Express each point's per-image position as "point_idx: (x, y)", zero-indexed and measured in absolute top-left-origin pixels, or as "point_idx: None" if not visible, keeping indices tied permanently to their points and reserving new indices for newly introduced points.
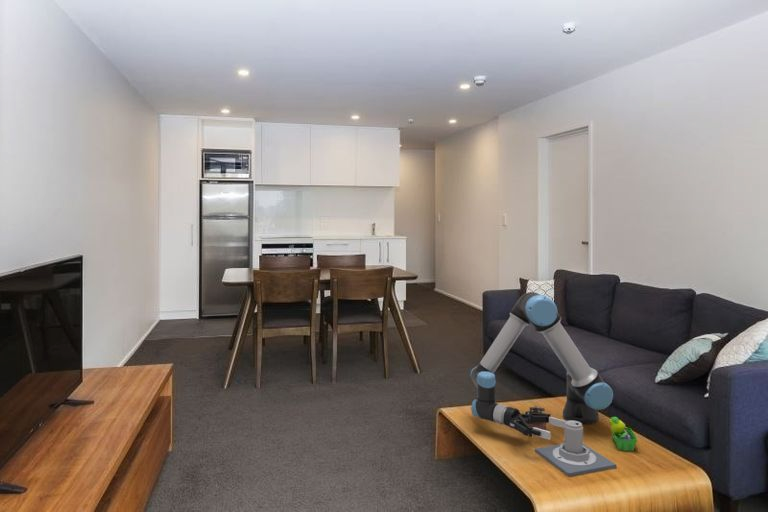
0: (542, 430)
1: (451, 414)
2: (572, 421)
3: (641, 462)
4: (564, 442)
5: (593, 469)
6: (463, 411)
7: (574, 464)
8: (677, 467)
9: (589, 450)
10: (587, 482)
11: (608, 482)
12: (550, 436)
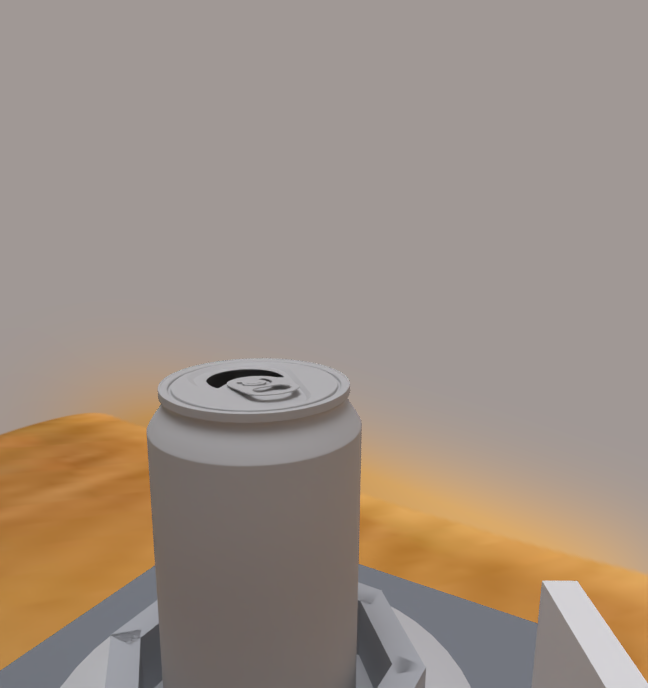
0: (644, 679)
1: None
2: (196, 393)
3: (83, 494)
4: (302, 668)
5: (378, 575)
6: None
7: (444, 650)
8: (80, 435)
9: (54, 665)
10: (537, 580)
11: (429, 527)
12: (536, 649)
